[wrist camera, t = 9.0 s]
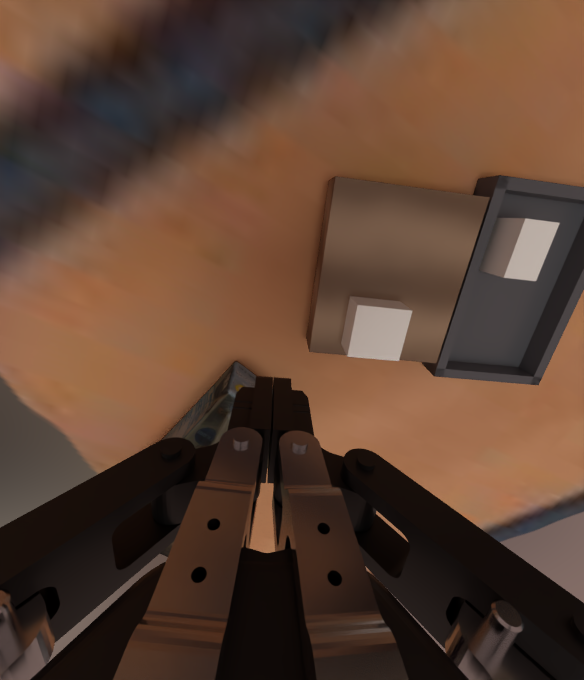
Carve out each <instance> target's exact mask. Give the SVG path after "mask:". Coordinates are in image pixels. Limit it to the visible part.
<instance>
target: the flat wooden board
mask: <svg viewBox="0 0 584 680" xmlns="http://www.w3.org/2000/svg"><path fill="white" fill-rule="evenodd" d="M489 198H490V197H483V196H475V195H468V194H461V193H454V192H446V191H439V190H432V189H424V188H417V187H410V186H403V185H395V184H388V183H381V182H373V181H366V180H359V179H351V178H344V177H337V176H335V177H334V178H332V179H331V180H329V184H328V191H327V198H326V205H325V212H324V219H323V226H322V232H321V239H320V246H319V253H318V260H317V267H316V274H315V281H314V288H313V295H312V302H311V309H310V316H309V323H308V330H307V337H306V339H307V344H308V348H309V352H317V353H328V354H339V355H346V353H345V351H344V349H343V347H342V344H341V341H342V336H343V331H344V325H345V320H346V315H347V310H348V304H349V299H350V296H354V297H363V298H373V299H382V300H392V301H400V302H401V303H403V304H404V305H406V306H407V307H408V308H410V309H411V310H412V315H411V318H410V322H409V326H408V329H407V333H406V337H405V340H404V344H403V348H402V352H401V355H400V359H399V360H406V361H417V362H428V363H436V362H437V359H438V356H439V353H440V350H441V347H442V344H443V341H444V338H445V335H446V332H447V328H448V325H449V322H450V319H451V316H452V313H453V310H454V307H455V304H456V301H457V297H458V294H459V291H460V288H461V285H462V282H463V279H464V276H465V273H466V270H467V266H468V263H469V260H470V257H471V254H472V251H473V248H474V245H475V242H476V239H477V235H478V232H479V229H480V226H481V223H482V220H483V217H484V214H485V211H486V208H487V204H488V201H489Z"/></svg>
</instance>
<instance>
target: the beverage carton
mask: <svg viewBox="0 0 584 680" xmlns="http://www.w3.org/2000/svg"><path fill="white" fill-rule="evenodd" d="M255 380H256V375H254V374H253V373H252V372H250V371H249V370H248V369H247V368H245V367H244V366H243V365H241V364H240V363H238V362H234V363H233V364H232V365H231V367H230V368H229V369H228V370H227V371H226V372H225V373H224V374H223V375H222V376H221V378H220V379H219V380H218V381H217V382H216V383H215V384H214V385H213V386H212V387H211V388H210V389H209V390H208V391H207V393H206V394H205V395H204V396H203V397H202V398H201V399H200V400H199V401H198V402H197V403H196V404H195V405H194V406H193V408H192V409H191V410H190V411H189V412H188V413H187V414H186V415H185V416H184V417H183V418H182V419H181V420H180V421H179V422H178V423H177V424H176V425H175V426H174V427H173V428H172V430H171V431H170V432H169V433H168V434H167V435H166V436H165V437H164V438H163V439H167V438H172V437H179V438H185V439H187V440H189V441H191V442H192V443H193V445H194V447H195V449H196V448H201V447H207V446H210V445H213V444H215V443H217V442H219V441H220V438H221V436H222V435H223V434H224V433H225V432H226V431H227V430H228V425H229V421H230V417H231V413H232V408H233V404H234V400H235V396H236V393H237V392H238V391H239V390H240V389H241V388H242V387H255ZM272 392H273V389H272ZM163 439H162V440H163ZM268 457H269V454H268ZM267 468H268V464H267ZM148 504H149V503H148ZM138 511H139V510H138ZM135 513H136V512H135ZM125 520H126V519H125ZM173 543H174V542H173ZM173 543H171V544H170V545H169V546H168V547H167V548H165V549H164V550H163V551H162V552H161V553H160V554H162V555H165V556H167V557H168V556H169V553H170V551H171V548H172V546H173Z"/></svg>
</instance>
